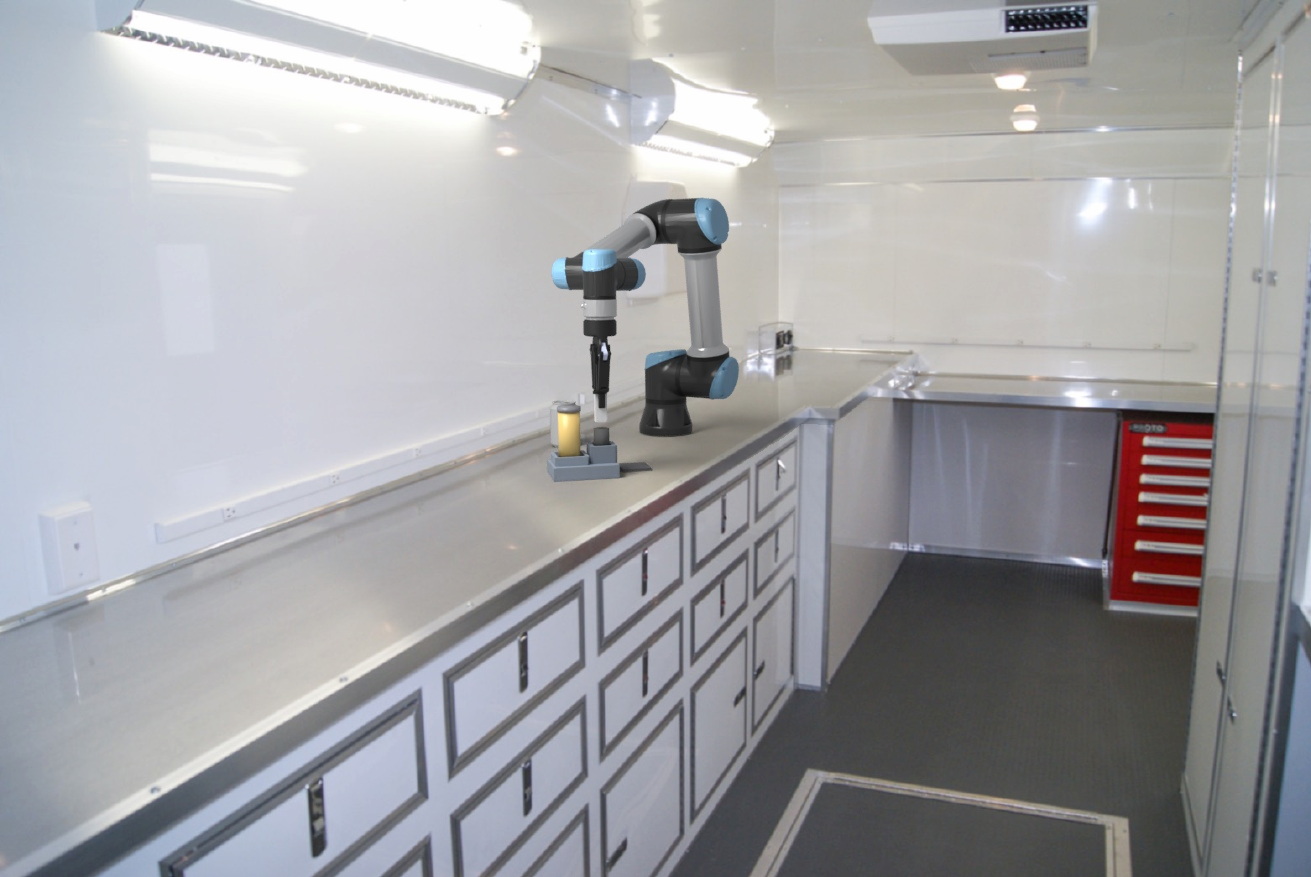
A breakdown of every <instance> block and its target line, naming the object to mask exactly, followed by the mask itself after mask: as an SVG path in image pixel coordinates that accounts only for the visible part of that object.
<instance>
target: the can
mask: <svg viewBox="0 0 1311 877" xmlns="http://www.w3.org/2000/svg"><path fill="white" fill-rule="evenodd" d="M561 405H577V404H576V401H575V400H569V399H560V400H554V401H552V404H551V405H550V407H549V426H550V430H549V431H550V444H551V445H552V446H553V447H554V448H558V449H559V444H558V412H557V406H561Z"/></svg>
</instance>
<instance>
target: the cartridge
mask: <svg viewBox="0 0 1311 877" xmlns="http://www.w3.org/2000/svg"><path fill="white" fill-rule="evenodd" d="M581 408H582V407H581V405H578V404H576V405H561V406H557V412H558V444H559V448H558V451H559V457H575V456H581Z"/></svg>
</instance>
